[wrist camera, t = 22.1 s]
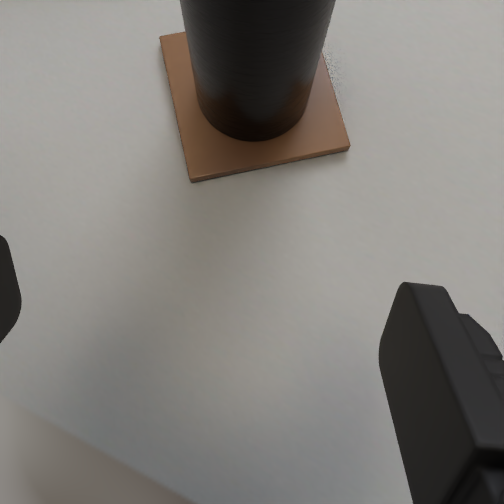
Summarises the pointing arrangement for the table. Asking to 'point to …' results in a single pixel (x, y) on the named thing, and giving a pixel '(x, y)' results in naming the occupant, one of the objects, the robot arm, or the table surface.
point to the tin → (255, 61)
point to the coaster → (244, 152)
